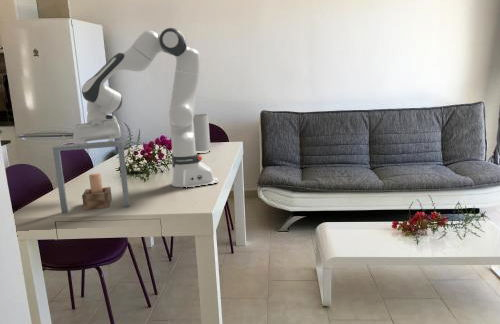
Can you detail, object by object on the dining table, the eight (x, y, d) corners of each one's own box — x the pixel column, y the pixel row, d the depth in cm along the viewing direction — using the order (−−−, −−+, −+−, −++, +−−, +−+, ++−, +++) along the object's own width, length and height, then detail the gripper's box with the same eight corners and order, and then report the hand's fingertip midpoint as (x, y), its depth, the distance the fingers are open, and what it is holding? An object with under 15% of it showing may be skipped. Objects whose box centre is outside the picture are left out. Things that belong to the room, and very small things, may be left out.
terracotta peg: (104, 200, 183) (101, 172, 181) (103, 203, 179) (99, 175, 177) (93, 201, 182) (89, 173, 180) (91, 204, 178) (88, 176, 176)
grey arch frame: (130, 202, 182) (123, 140, 176) (129, 206, 177) (122, 142, 171) (64, 209, 177) (55, 145, 172) (61, 213, 172) (52, 147, 166)
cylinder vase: (194, 150, 298) (191, 114, 293) (212, 150, 296) (210, 113, 291) (189, 154, 286) (186, 116, 281) (208, 153, 284) (205, 115, 279)
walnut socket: (112, 200, 187) (110, 186, 185) (109, 207, 177) (107, 193, 176) (87, 202, 185) (85, 189, 183) (83, 209, 175) (82, 195, 174)
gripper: (71, 120, 194) (71, 145, 187) (118, 115, 198) (120, 139, 191) (75, 129, 199) (74, 153, 192) (121, 124, 203) (122, 148, 196)
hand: (97, 146), depth 191 cm, fingers open, 8 cm apart
